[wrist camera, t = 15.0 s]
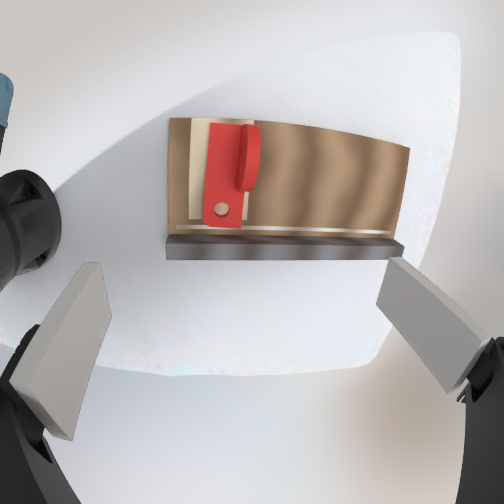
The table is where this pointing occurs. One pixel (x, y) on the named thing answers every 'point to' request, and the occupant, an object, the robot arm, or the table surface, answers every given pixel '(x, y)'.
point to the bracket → (230, 171)
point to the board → (290, 196)
